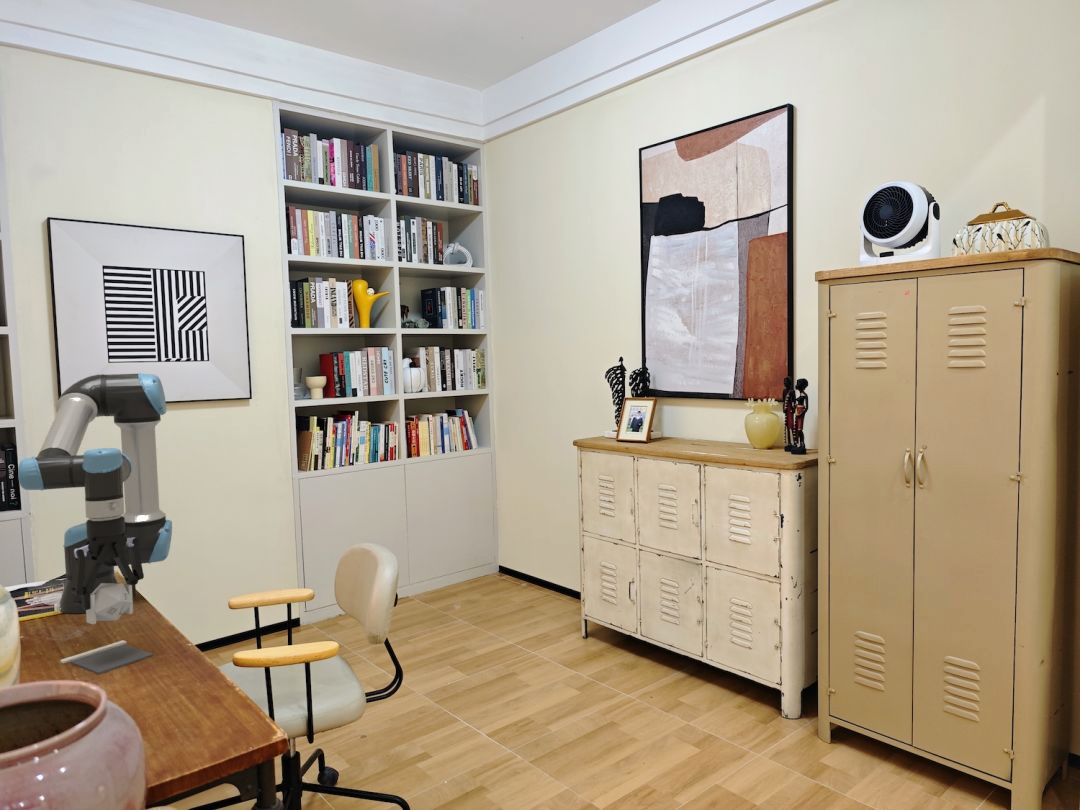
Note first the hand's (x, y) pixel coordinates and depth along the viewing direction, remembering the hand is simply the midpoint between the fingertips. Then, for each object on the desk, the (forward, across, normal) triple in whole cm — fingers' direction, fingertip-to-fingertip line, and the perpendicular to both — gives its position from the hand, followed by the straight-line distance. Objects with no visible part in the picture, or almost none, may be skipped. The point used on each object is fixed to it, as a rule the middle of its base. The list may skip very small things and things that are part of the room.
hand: (110, 617), depth 169 cm
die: (0, 0, 0) cm, 0 cm away
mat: (+10, 0, +1) cm, 10 cm away
